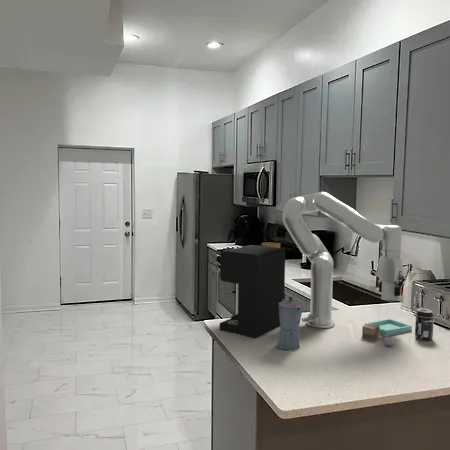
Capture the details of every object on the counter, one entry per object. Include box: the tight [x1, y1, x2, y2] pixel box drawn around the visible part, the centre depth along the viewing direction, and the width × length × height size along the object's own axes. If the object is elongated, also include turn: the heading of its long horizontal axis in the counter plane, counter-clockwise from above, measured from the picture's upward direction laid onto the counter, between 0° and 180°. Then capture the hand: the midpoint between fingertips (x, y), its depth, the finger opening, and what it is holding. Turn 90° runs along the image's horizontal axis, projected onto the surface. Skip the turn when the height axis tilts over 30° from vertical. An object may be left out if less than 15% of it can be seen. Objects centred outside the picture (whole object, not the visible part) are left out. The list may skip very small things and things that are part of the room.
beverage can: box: [414, 308, 435, 341], centre depth 190 cm, size 7×7×12 cm
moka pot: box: [277, 296, 304, 352], centre depth 178 cm, size 10×15×20 cm, turn 27°
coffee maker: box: [219, 244, 287, 340], centre depth 203 cm, size 28×20×35 cm
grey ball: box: [383, 336, 394, 347], centre depth 181 cm, size 4×4×4 cm
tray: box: [364, 318, 413, 338], centre depth 201 cm, size 16×12×2 cm
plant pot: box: [261, 242, 281, 248], centre depth 369 cm, size 15×15×16 cm
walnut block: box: [361, 324, 380, 342], centre depth 190 cm, size 5×5×5 cm
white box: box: [380, 279, 399, 302], centre depth 200 cm, size 4×7×10 cm, turn 70°
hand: (389, 293), depth 200 cm, fingers closed on white box, 7 cm apart
